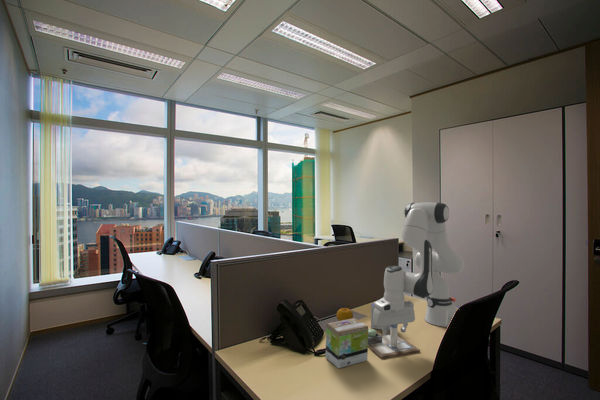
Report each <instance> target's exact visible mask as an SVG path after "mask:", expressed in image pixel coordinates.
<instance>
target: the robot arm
mask: <svg viewBox="0 0 600 400" xmlns="http://www.w3.org/2000/svg"><path fill="white" fill-rule="evenodd" d="M403 214H404V218H405V220H404V224H403V228H402V232H401V238H402V240H403V242H404V243H405V244H406V245H407V246H408V247H410V248H411V249H413V250H415V251H417V253H416V254H415V257H414V263H415V266H417V268H419V269H420V272H419V273H415V272H410V271H407V270H404V269H403V267H401V266H400V265H389V266H387V267H385V271H384V274H383V275H384V277H383V287H384V293H383V297H381V298H380V300H378V299H377V300H376V301H374V302H373V303H374V306H375V307H376V308H375V309H374V311H373V323H374V325H376V326H377V327H381V329H382V330H381V329H380V330H381V331H382V334H383V335H384V336H386V335H388V334H389V331H386V330H385V328H386V326H390V325H396V324H398V325H401V324H402V327H400V332H401V333H403V334H404V333H406V332H407V331H406V330H407V328H408V325H409V323H414V322H415V320H416V315H415V309H414V307H415V306H414V305H415V304H414V302H413V301H411V300H405V294H410V295H414V296H416V297H419V298H421V299H425V298H426V302H427V304H426V311H425V317H424V321H425V322H427V323H428V324H430V325H432V326H433V325H434V326H436V327H437V326H438V327H444V328H448V325H449V323H450V321H451V319H452V317H453V315H454V313H455V312H456V310H457V309H459V308H458V307H457V306H456V305H454V304H453V303H455V302H456V301H457V299H456V298H455V297H451V296H450V284H449V282H448V281H447V279H445V278H444V277H442V276H441V275H440V273H444V274H454V275H455V274H460V273H461V272H463V270H464V269H465V262H464V261H465V260H464V259H463V258H462V256H461V255H459V254H458V253H456V252H455V251H454V249H453V248H452V247H451V245H450V244H449V241H448V235H447V228H446V227H447V226H446V222H447V221H448V219H449V217H450V209H449V207H448V205H446V203H442V202H431V201H428V202H427V201H425V202H423V201H422V202H410V203H408V204H407V205H406V206H405V208H404V213H403ZM404 293H405V294H404Z"/></svg>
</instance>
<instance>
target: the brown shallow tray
mask: <svg viewBox="0 0 600 400" xmlns="http://www.w3.org/2000/svg"><path fill="white" fill-rule="evenodd" d="M368 350H370V351H371V352H373V353H374V354H375V355H376V356H377V357H378V358H379V359H380V360H382V359H388V358H394V357H399V356H404V355H411V354H416V353H420V351H421V349H420V348H418V347H417V346H415V345H414V344H412V343H411V342H410V341H408V340H406V339H405V338H403V337H402V336H401V335H399V334H398V333H397V348H395V349H394V348H392V347H391V345H390V332H388V335H386V336H384V335H383V333H382V334H381V333H379V332H378V331H376V336H374V337H369V336H368Z"/></svg>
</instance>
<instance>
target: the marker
mask: <svg viewBox="0 0 600 400" xmlns="http://www.w3.org/2000/svg"><path fill="white" fill-rule="evenodd" d="M398 325H399V324H396V325H390V331H389V333H390V345H391V347H392V348H394V349H395V348H397V334H398Z"/></svg>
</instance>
